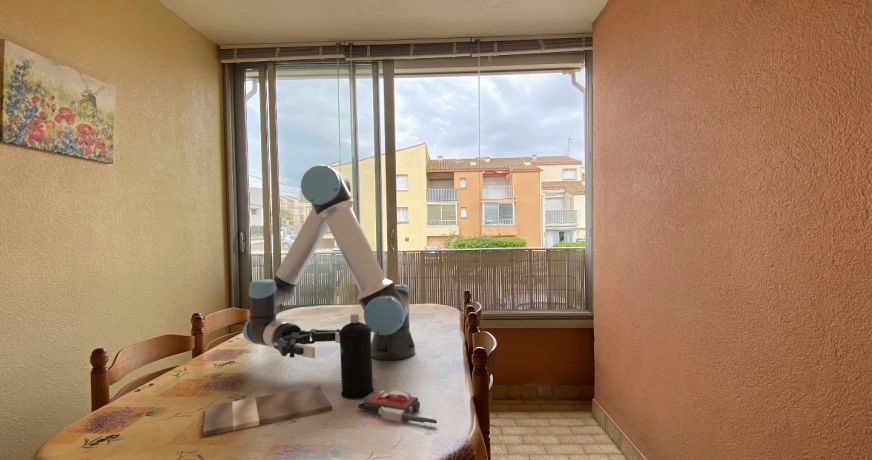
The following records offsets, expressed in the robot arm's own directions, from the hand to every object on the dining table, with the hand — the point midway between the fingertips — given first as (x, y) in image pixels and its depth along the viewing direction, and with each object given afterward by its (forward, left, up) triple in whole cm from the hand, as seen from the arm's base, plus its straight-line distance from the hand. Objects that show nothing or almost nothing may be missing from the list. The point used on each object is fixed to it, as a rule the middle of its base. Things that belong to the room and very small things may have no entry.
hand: (334, 346), depth 110 cm
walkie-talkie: (-10, +23, -12) cm, 27 cm away
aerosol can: (-4, +7, -11) cm, 13 cm away
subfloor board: (+17, +7, -11) cm, 21 cm away
